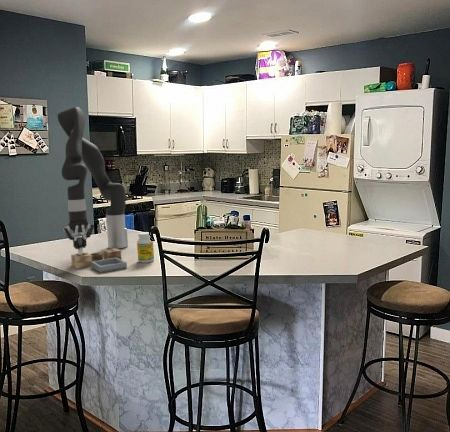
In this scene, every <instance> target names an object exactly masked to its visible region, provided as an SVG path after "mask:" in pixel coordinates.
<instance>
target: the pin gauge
mask: <svg viewBox="0 0 450 432" xmlns="http://www.w3.org/2000/svg"><path fill="white" fill-rule="evenodd" d="M77 242H78V249H77V253H78V256H82V255H83V253H84V251H83V249H84V248H83V237H82V236H77Z"/></svg>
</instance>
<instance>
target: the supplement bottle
mask: <svg viewBox="0 0 450 432" xmlns="http://www.w3.org/2000/svg"><path fill="white" fill-rule="evenodd" d="M150 235H151V234H150ZM150 235H149V232H148V231H143V232H139V233H138V239H137V241H136V247H137V248H136V249H137V260H138V262H139V263H151V262H153V261H154V260H155V254H154V253H155V252H154V240H153V241H151V240H150V238H151V236H150Z"/></svg>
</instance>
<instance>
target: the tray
mask: <svg viewBox="0 0 450 432" xmlns="http://www.w3.org/2000/svg"><path fill="white" fill-rule="evenodd" d="M127 264H128V263H127V261H125V260H123V259H121V260H120V259H118V258H110V259H104V258H103V260H98V261H92V262H91V266H90V267H91V269H94V270H95V271H97V272H99V273H100V274H102V273H108V272H112V271H113V272H114V271H120V270H125V269H127V268H128V267H127V266H128V265H127Z"/></svg>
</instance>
